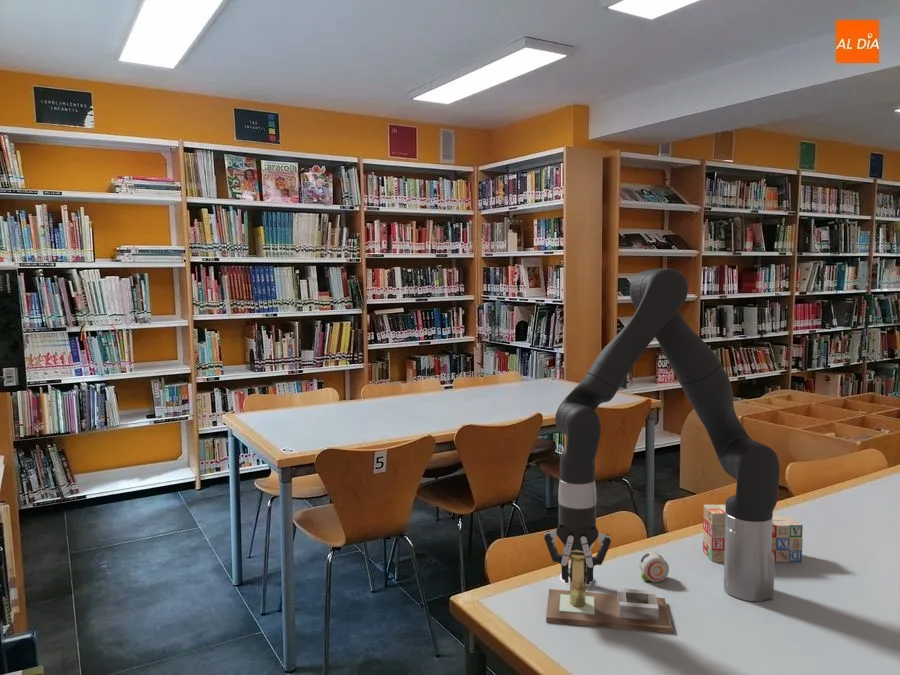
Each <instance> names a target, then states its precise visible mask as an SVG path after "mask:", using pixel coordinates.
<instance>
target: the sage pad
mask: <svg viewBox="0 0 900 675" xmlns="http://www.w3.org/2000/svg"><path fill="white" fill-rule="evenodd" d="M559 612H567V613H578V614H590V615H595V608H594V597H591V596H586V605H585V606H584V607H574V606H572V605H571V604H570V595H566V594H560V607H559Z"/></svg>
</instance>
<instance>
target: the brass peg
mask: <svg viewBox="0 0 900 675" xmlns="http://www.w3.org/2000/svg"><path fill="white" fill-rule="evenodd" d="M569 558H570V559H569V567H570V573H569V577H570V586H569V591H570V604H571V605H572V606H574V607H584V606H585V605H586V592H587V591H586V589H587V586H586V563H587V562H586V557H585V555H584V551H580V550H571V551H570V555H569Z"/></svg>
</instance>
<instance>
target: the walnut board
mask: <svg viewBox="0 0 900 675" xmlns="http://www.w3.org/2000/svg"><path fill="white" fill-rule="evenodd" d="M560 594H566V595H570V590H568V589H567V590H565V589H553V588H549V589H548V595H547V596H548V597H547V606H546V613H545V614H546V616H545V622H547V623H554V624H566V625H567V624H568V625H576V626H577V625H579V626H588V627H598V626H599V628H610V627H611V629H622V630H623V629H624V630H632V631H633V630H634V631H645V632H656V633H657V632H658V633H668V634H673V626H672V622H671V618H670V614H669V610H668V606H667V603H666V602H667V601H666V598H665V597H657V596H656V592H655V590H647V589H635V588H634V589H631V588H623V587H622V588H621V587H620V588H619V587H617V593H616V594H615V593H614V594H613V593H607V592H606V593H603V592H591V591H586V596H591V597H594V608H595V615H590V614H578V613H567V612H559V607H560Z"/></svg>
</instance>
